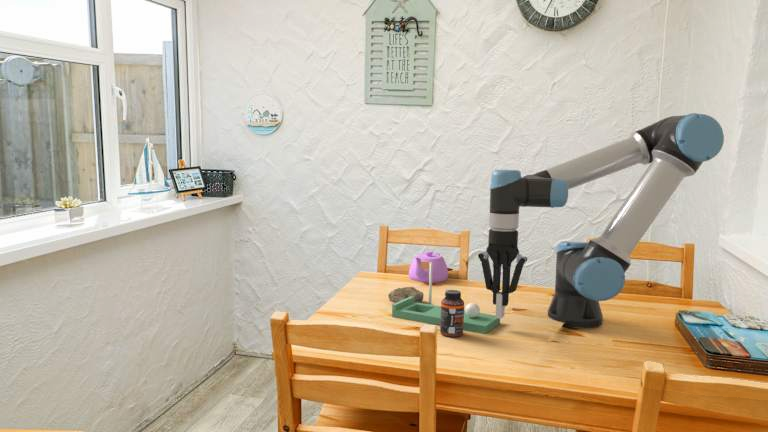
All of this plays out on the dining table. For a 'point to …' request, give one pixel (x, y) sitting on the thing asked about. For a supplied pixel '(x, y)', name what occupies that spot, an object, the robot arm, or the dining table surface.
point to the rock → (405, 294)
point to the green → (433, 315)
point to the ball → (472, 310)
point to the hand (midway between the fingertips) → (499, 316)
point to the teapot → (423, 275)
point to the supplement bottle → (452, 314)
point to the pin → (429, 267)
